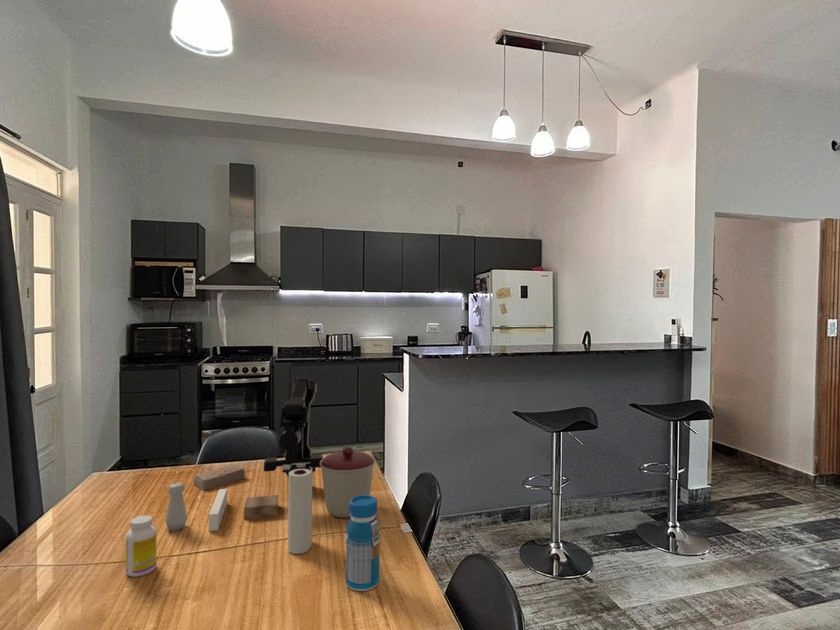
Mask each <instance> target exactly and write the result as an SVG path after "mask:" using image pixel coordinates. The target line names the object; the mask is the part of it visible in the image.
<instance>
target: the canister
mask: <svg viewBox="0 0 840 630" xmlns="http://www.w3.org/2000/svg"><path fill="white" fill-rule="evenodd" d="M376 463H377V462H376V458H374V457H373V456H372V455H370V454H368V453H365V452H362V451H357V450H354V448H353V447H351V446H345V447H344V448H343V449H342V451H338V452H334V453H330V454H328V455H326V456H325V457H324V458H323V459H322V460H321V461H320V466H321V467H320V468H321V470H322V471H321V472H322V484H323V492H324V500H325V507H326V510H327V512H328V513H329V515H332V516H334V517H336V518H340V519H342V518H344V519H345V518H347V519H348V518H351V516H350V513H349V503H350V500H351V499H352V498H353V497H356V496H360V495H369V496H371V490H372V480H373V471H374V465H376Z"/></svg>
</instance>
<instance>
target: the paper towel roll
mask: <svg viewBox="0 0 840 630" xmlns="http://www.w3.org/2000/svg"><path fill="white" fill-rule="evenodd" d="M287 501H288V502H287V504H288V509H287V510H288V513H287V514H288V515H287V517H288V520H287V521H288V523H287V524H288V528H287V550H288V552H289V553H290V554H292V555H301V554H304V553H307V552H308V551H310V549H311V547H312V541H313V539H312V538H313V537H312V536H313V533H312V532H313V531H312V530H313V529H312V528H313V526H312V525H313V473H312V468H311V471H310V470H308V469H296V470H293V471H290V472H289V478H288V500H287Z"/></svg>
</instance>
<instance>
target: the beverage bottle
mask: <svg viewBox="0 0 840 630" xmlns="http://www.w3.org/2000/svg"><path fill="white" fill-rule="evenodd" d="M349 513H350V516H351V517H349V519H348V521H347V524H346V527H345V532H346V536H345V540H344V543H345V584H346V586H347V588H348V589H350V590H353V591H355V592H356V591H357V592H367V591H370V590H372V589H375V587H377V585H378V584H379V583H380V561H381V560H380V557H381V553H380V552H381V551H380V550H381V549H380V547H381V539H382V538H381V534H380V530H381V525H380V522H379V520H378V518H377V513H378V499H377V498H376V497H374V496H372V495H370V496H369V495H360V496H356V497H353V498H352V499H351V500H350V503H349Z"/></svg>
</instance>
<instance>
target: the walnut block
mask: <svg viewBox="0 0 840 630" xmlns="http://www.w3.org/2000/svg"><path fill="white" fill-rule="evenodd" d="M278 512H279V494H273V495H261V496H260V495H259V496H250V497H246V499H245V503H244V505H243V520H249V519H250V520H251V519H252V520H253V519H261V518H269V517H270V518H272V517H278Z"/></svg>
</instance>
